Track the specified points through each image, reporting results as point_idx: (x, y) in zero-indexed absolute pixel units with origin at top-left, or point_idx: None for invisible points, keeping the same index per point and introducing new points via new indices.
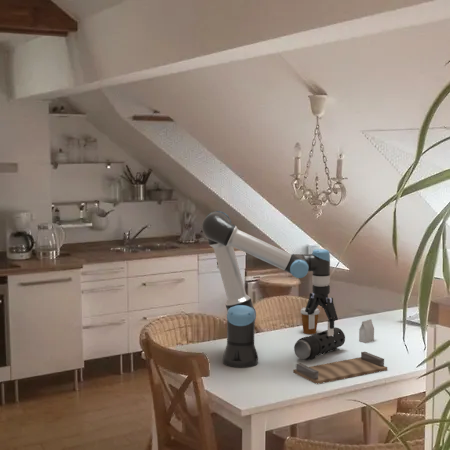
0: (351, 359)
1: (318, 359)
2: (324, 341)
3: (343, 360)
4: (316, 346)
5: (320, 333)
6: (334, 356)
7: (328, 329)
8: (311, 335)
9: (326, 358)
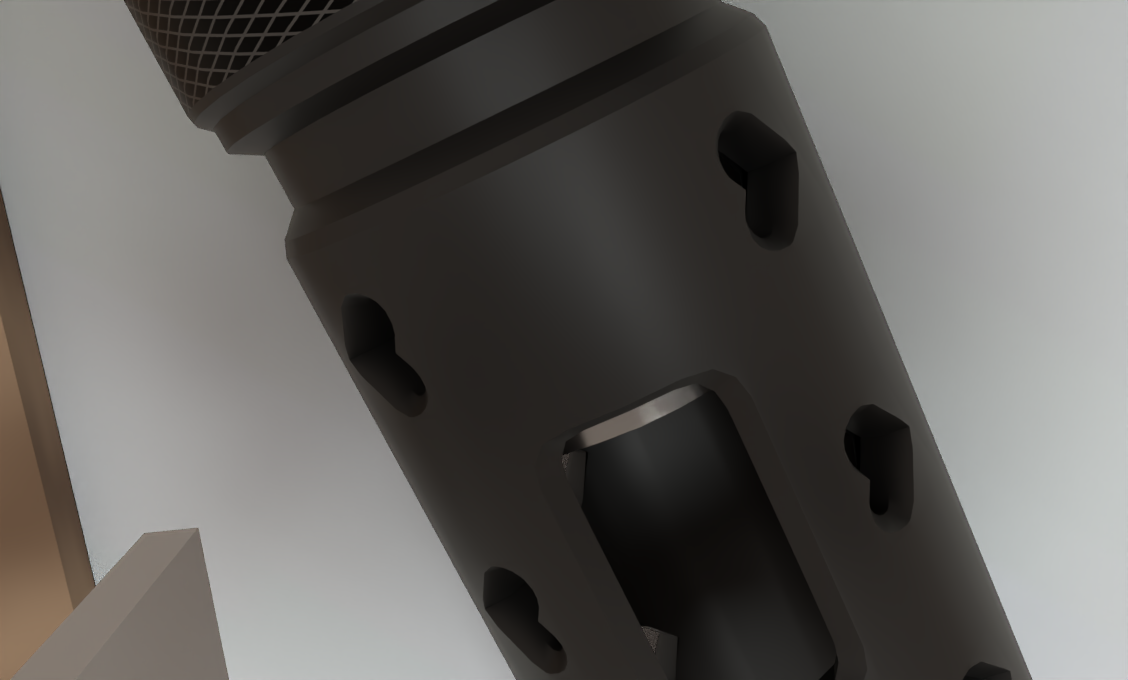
0: None
1: None
2: (392, 441)
3: (41, 503)
4: (156, 56)
5: (822, 606)
6: None
7: (58, 640)
8: (634, 193)
9: None
